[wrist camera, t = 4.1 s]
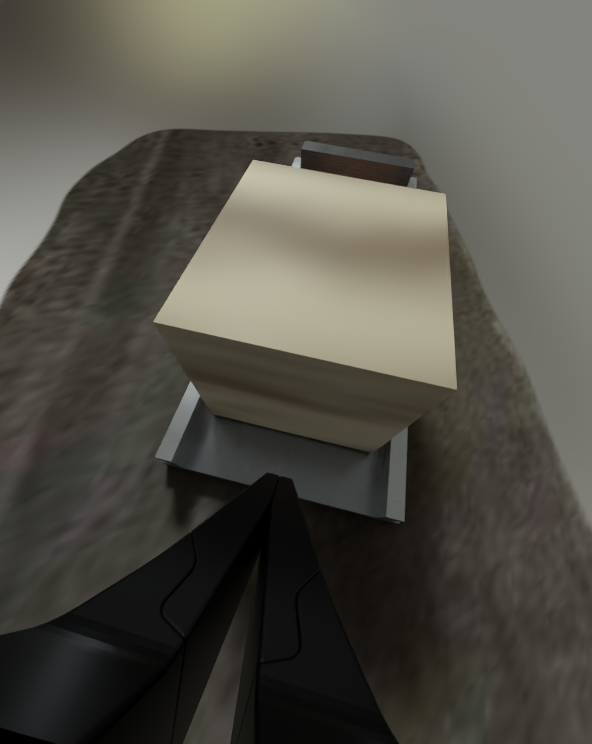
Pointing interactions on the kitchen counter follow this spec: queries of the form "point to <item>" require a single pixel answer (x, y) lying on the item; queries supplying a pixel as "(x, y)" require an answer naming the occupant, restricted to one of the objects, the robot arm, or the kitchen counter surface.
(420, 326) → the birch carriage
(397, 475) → the graphite track
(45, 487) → the kitchen counter surface
